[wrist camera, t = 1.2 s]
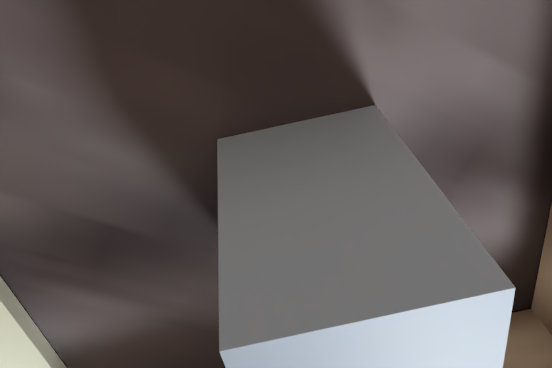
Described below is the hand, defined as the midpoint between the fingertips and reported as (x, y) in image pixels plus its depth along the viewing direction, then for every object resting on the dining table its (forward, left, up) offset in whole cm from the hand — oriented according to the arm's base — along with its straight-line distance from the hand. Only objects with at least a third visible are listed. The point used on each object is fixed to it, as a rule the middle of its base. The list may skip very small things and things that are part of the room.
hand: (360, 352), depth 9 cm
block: (0, 0, -6) cm, 6 cm away
